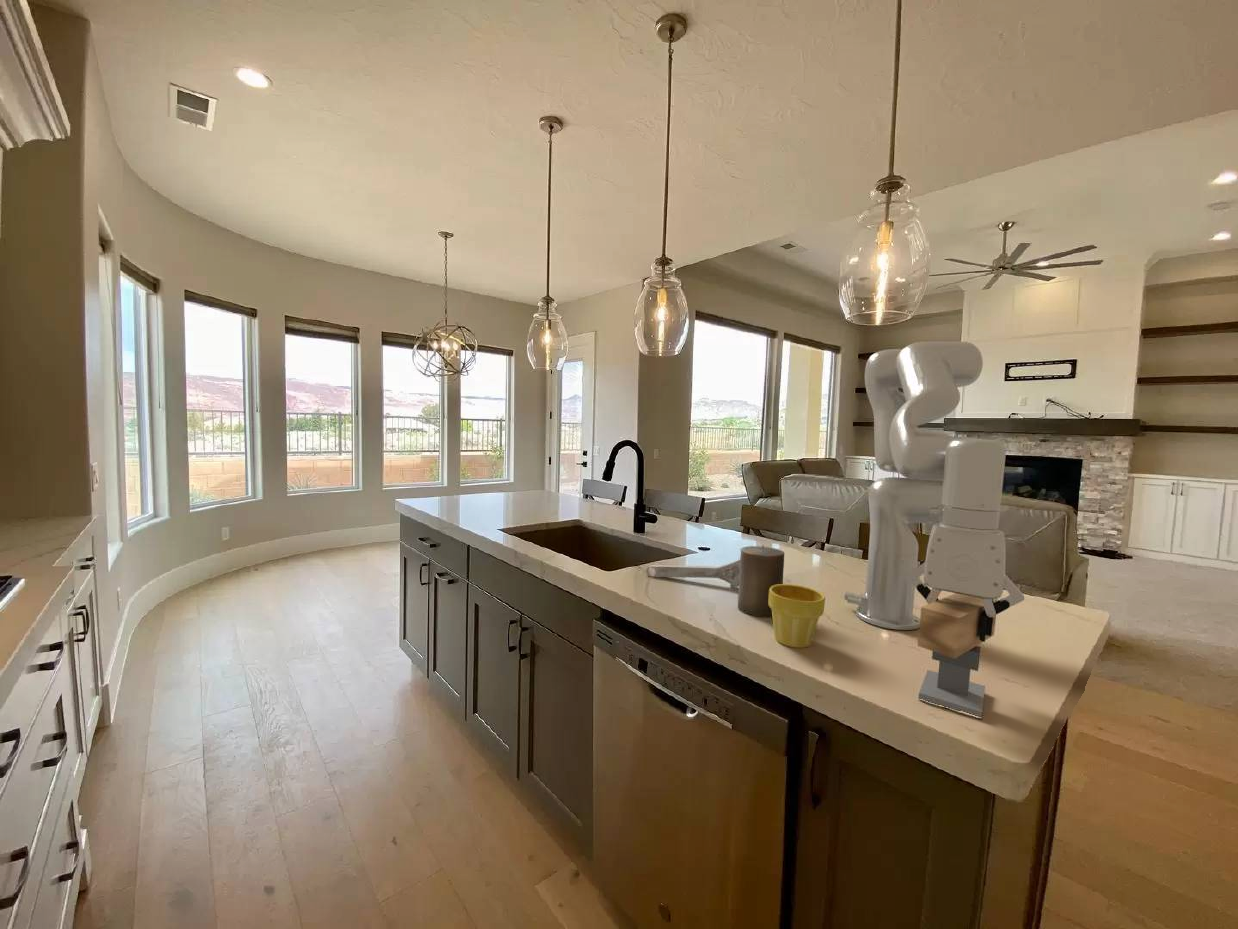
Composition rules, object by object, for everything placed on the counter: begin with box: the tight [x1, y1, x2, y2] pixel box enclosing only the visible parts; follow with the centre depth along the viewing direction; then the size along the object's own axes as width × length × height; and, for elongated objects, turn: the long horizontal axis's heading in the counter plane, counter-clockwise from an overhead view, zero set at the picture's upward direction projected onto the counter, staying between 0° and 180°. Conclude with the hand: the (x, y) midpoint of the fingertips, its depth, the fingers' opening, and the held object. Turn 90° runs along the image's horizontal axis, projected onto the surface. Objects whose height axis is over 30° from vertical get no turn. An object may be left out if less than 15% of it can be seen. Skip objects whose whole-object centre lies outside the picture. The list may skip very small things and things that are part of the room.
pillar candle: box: [737, 544, 785, 618], centre depth 116 cm, size 10×10×15 cm
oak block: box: [917, 593, 999, 659], centre depth 80 cm, size 5×16×6 cm, turn 127°
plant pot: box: [768, 583, 826, 648], centre depth 100 cm, size 10×10×10 cm
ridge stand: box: [918, 645, 986, 719], centre depth 81 cm, size 8×10×8 cm
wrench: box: [645, 558, 740, 590], centre depth 135 cm, size 8×2×30 cm
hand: (957, 632), depth 80 cm, fingers closed on oak block, 5 cm apart
